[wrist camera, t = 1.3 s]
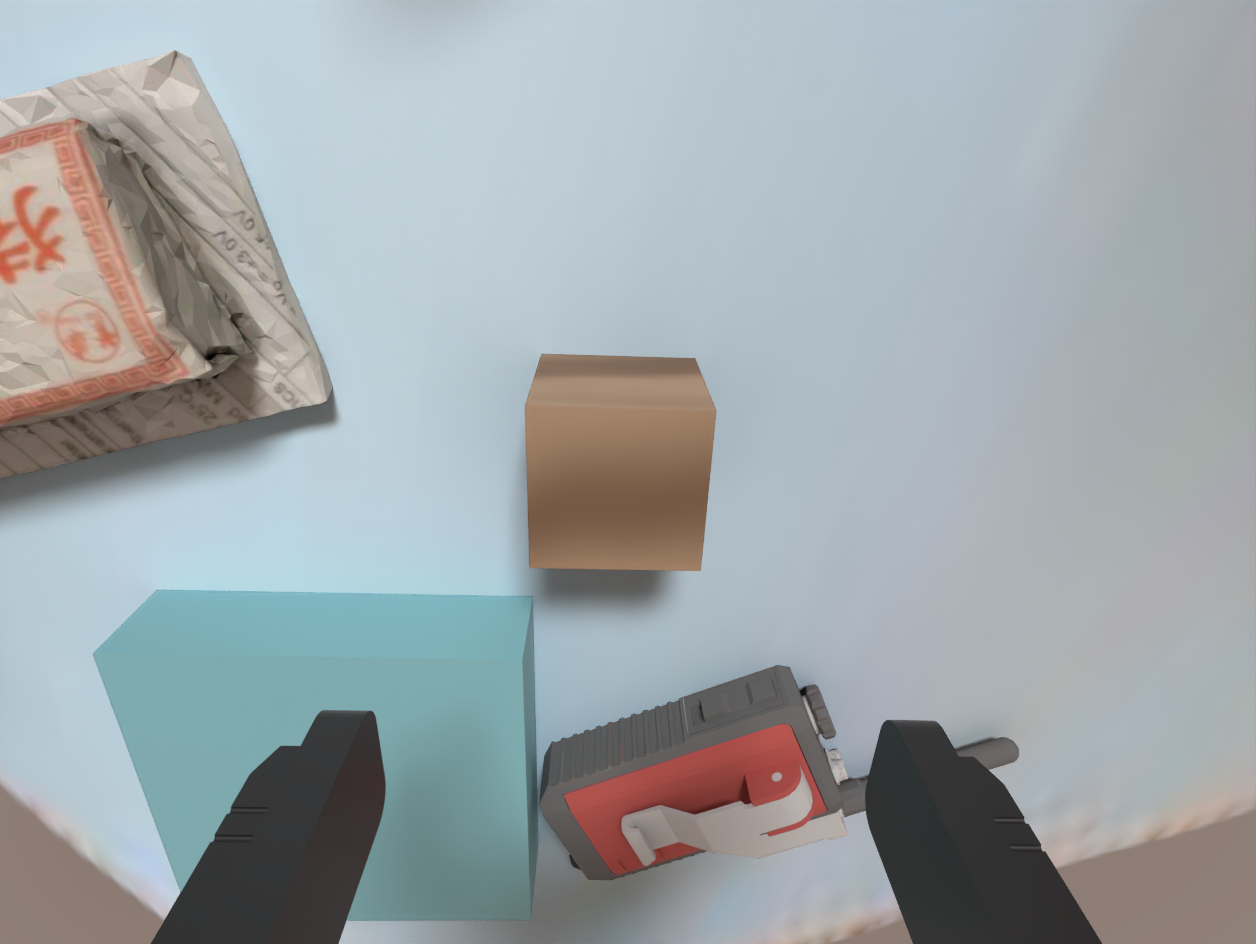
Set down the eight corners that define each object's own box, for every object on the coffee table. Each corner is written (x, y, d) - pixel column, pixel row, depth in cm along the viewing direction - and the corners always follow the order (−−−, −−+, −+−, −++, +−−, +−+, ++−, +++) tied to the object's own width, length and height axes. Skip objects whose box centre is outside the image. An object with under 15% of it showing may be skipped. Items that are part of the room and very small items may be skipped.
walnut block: (541, 353, 22) (525, 405, 18) (694, 357, 23) (716, 410, 18) (544, 490, 25) (529, 567, 20) (683, 493, 25) (700, 570, 20)
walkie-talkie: (595, 864, 34) (1005, 739, 31) (593, 961, 30) (1064, 827, 27) (513, 744, 30) (967, 589, 27) (498, 835, 26) (1028, 666, 23)
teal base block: (163, 583, 26) (92, 653, 23) (533, 590, 27) (522, 659, 23) (237, 833, 32) (191, 920, 29) (539, 834, 33) (530, 920, 29)
